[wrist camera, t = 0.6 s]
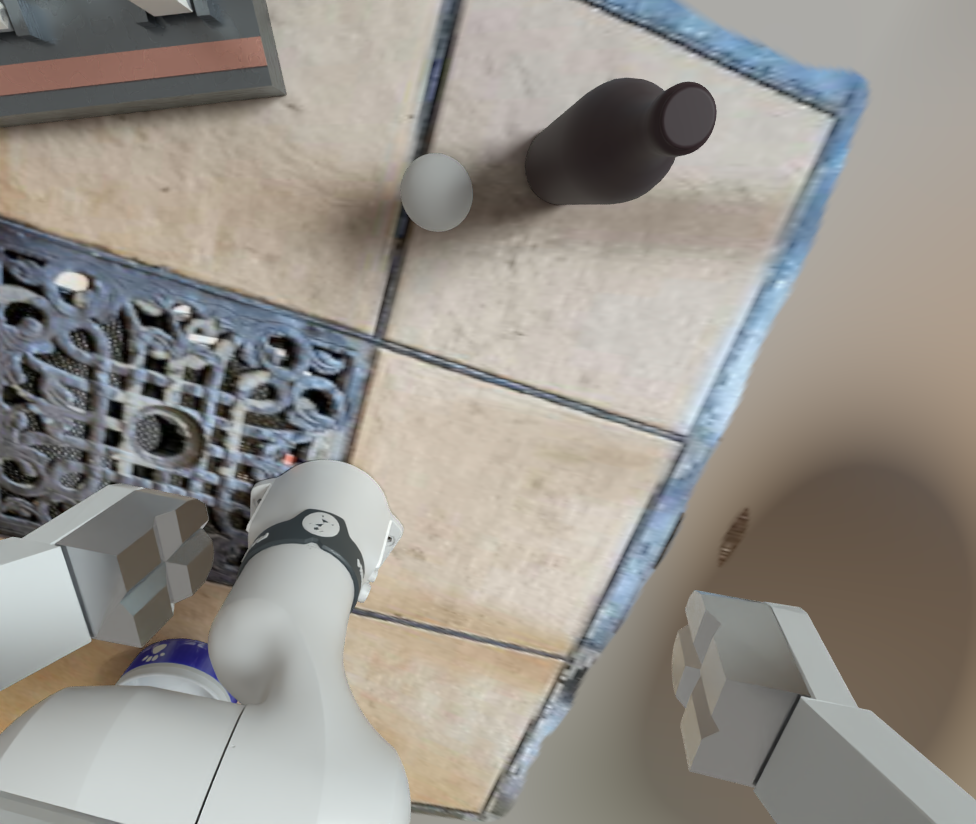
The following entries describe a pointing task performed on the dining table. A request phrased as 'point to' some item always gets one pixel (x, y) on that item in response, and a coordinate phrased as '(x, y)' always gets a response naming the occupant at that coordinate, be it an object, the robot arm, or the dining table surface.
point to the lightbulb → (436, 192)
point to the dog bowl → (176, 669)
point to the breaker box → (131, 58)
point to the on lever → (5, 20)
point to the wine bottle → (618, 141)
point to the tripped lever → (165, 6)
